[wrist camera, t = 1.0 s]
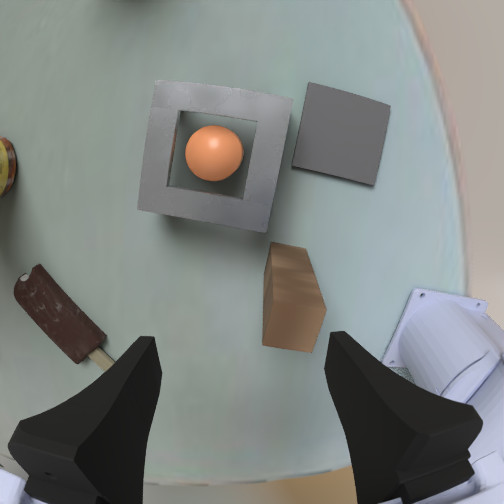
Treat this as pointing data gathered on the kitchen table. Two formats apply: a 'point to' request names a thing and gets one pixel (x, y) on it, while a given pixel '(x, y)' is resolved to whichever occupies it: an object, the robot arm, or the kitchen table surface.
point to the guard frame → (261, 163)
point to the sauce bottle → (6, 165)
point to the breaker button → (214, 153)
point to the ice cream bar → (60, 317)
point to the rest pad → (341, 134)
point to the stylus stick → (291, 300)
